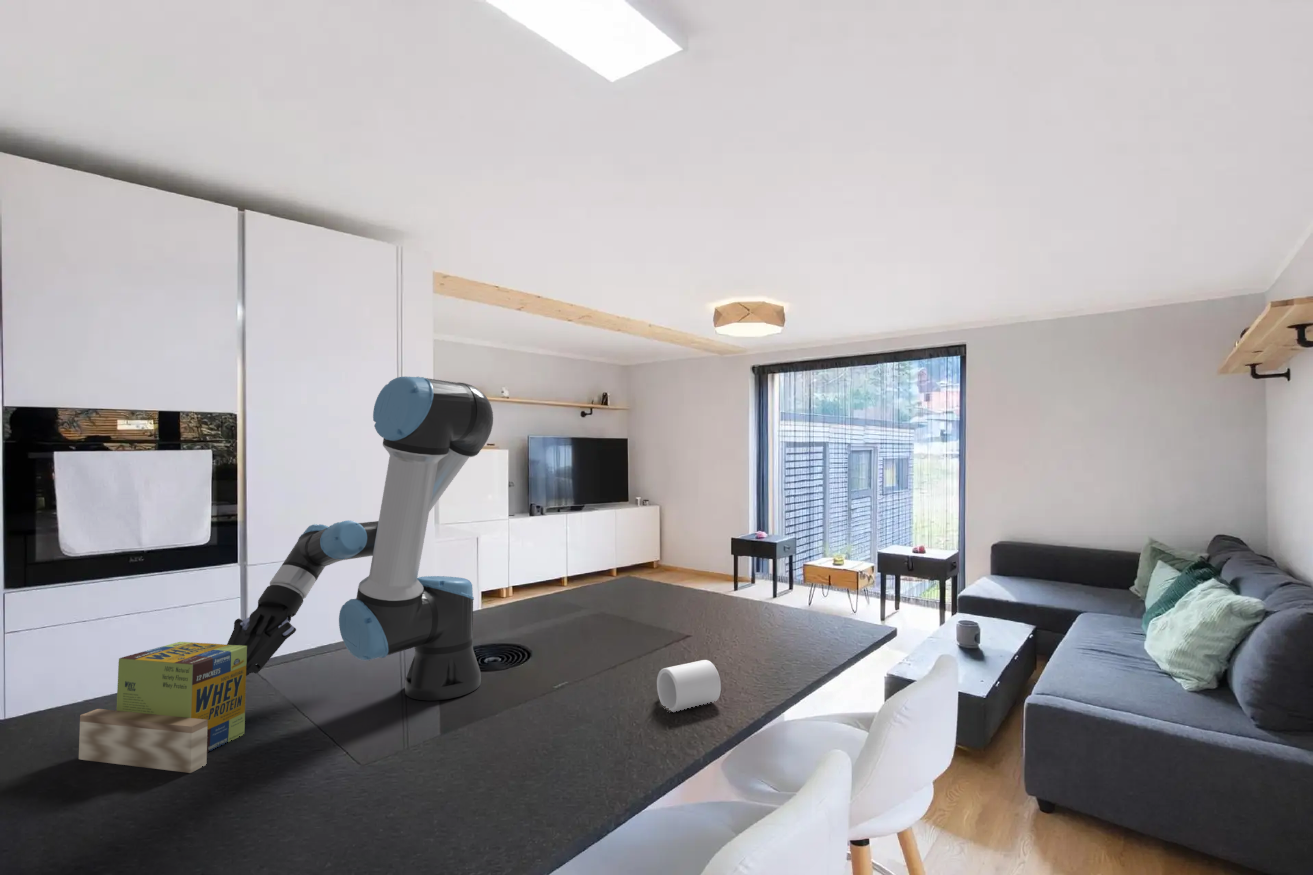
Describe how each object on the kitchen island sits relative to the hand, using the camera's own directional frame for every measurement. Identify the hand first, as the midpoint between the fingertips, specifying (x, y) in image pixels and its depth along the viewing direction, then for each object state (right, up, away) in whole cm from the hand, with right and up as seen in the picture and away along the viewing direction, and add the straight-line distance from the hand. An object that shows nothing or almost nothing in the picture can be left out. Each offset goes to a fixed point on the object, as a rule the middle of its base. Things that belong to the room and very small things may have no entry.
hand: (212, 707), depth 109 cm
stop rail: (-2, -3, -13) cm, 13 cm away
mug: (+86, -4, +10) cm, 86 cm away
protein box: (0, -3, -7) cm, 7 cm away
